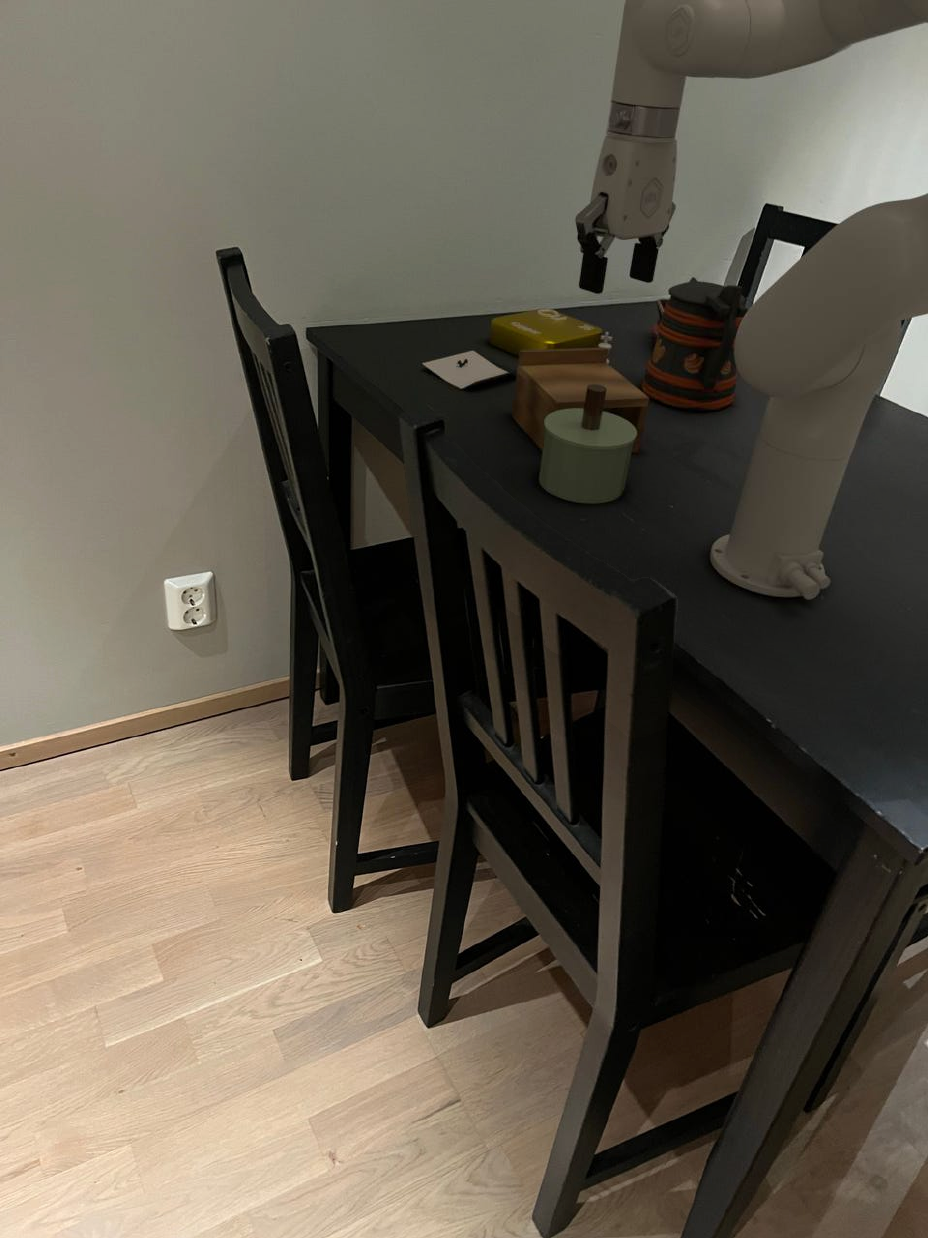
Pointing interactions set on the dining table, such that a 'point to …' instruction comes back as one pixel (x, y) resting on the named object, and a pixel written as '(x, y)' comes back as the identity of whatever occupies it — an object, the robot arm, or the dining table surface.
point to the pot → (583, 471)
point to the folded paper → (466, 369)
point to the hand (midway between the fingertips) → (616, 285)
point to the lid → (591, 424)
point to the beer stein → (696, 347)
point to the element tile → (542, 332)
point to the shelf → (571, 388)
